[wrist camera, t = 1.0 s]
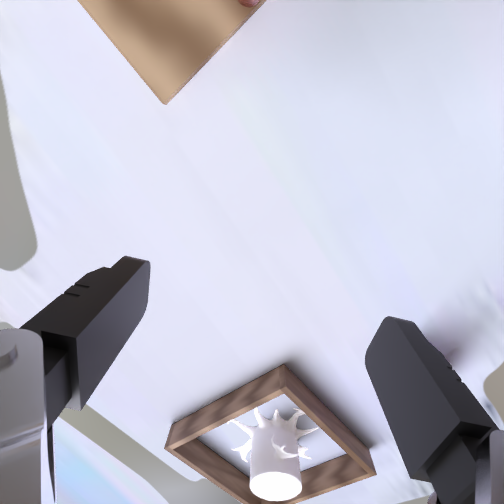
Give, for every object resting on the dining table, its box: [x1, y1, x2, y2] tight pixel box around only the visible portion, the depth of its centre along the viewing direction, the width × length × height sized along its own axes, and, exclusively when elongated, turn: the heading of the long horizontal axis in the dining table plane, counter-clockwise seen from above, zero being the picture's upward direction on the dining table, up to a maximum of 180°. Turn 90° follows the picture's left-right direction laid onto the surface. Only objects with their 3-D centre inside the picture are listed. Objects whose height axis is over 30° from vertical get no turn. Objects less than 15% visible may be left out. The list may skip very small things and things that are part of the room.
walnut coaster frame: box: [164, 364, 377, 504], centre depth 48 cm, size 25×26×4 cm
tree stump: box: [228, 407, 319, 501], centre depth 46 cm, size 20×19×8 cm
